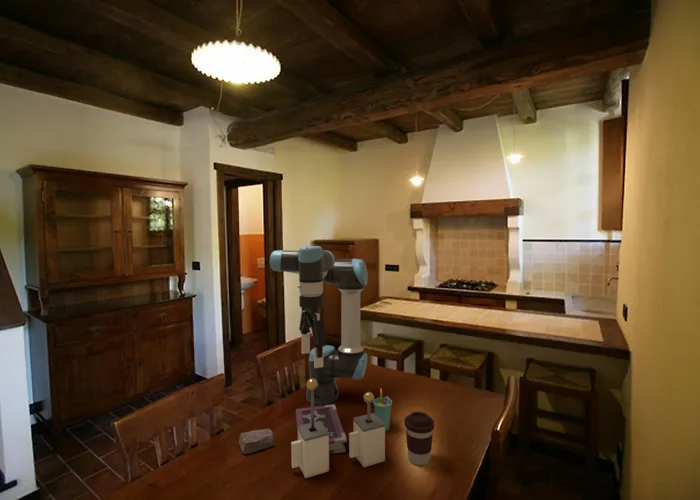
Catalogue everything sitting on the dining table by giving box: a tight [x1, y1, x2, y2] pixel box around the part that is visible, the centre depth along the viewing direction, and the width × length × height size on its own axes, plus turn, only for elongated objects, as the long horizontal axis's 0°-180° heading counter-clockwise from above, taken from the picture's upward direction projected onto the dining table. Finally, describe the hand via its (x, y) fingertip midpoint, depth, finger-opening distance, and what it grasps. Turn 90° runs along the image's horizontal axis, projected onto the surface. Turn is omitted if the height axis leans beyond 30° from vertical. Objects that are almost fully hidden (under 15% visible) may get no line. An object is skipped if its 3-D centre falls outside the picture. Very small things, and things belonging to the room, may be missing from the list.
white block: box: [348, 412, 386, 468], centre depth 121 cm, size 8×11×13 cm
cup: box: [373, 388, 393, 432], centre depth 139 cm, size 14×8×15 cm, turn 15°
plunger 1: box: [306, 378, 318, 432], centre depth 116 cm, size 5×5×21 cm
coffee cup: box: [403, 411, 435, 466], centre depth 120 cm, size 10×10×15 cm
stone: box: [238, 428, 276, 455], centre depth 130 cm, size 12×9×5 cm
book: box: [295, 403, 348, 455], centre depth 136 cm, size 25×16×5 cm, turn 12°
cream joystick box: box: [290, 421, 330, 479], centre depth 116 cm, size 8×11×13 cm
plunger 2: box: [363, 391, 375, 424], centre depth 121 cm, size 5×5×21 cm
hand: (311, 359), depth 115 cm, fingers open, 13 cm apart
